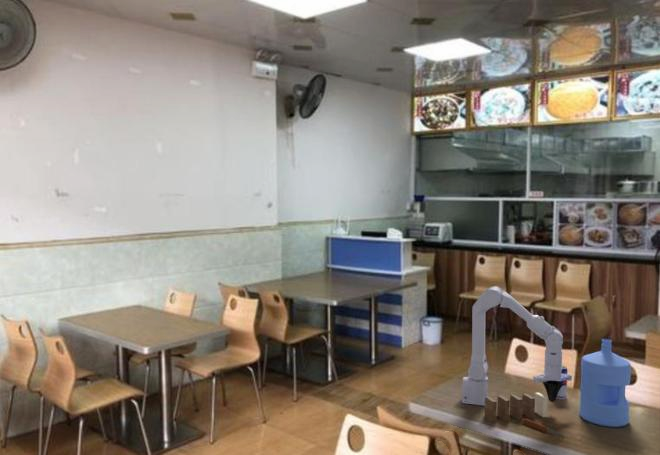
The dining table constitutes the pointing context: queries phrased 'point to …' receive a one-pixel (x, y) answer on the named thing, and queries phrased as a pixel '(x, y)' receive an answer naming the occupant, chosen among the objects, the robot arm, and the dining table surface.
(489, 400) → the walnut domino
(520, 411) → the walnut domino
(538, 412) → the cream domino
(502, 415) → the walnut domino
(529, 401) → the walnut domino
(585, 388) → the water jug
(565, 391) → the energy drink
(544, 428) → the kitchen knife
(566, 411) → the dining table surface
